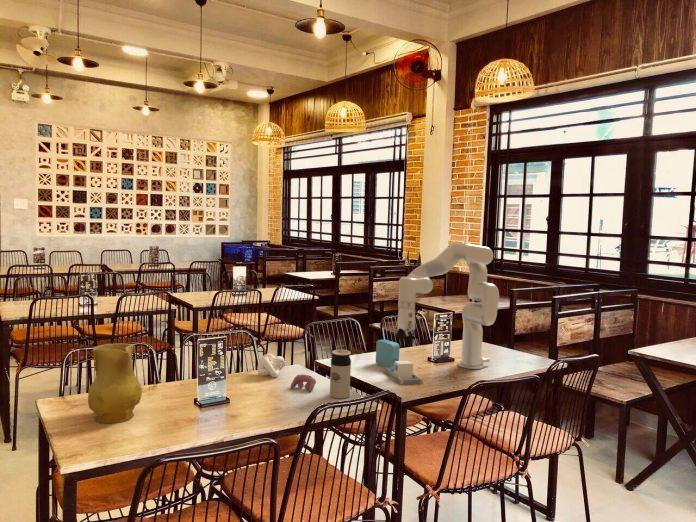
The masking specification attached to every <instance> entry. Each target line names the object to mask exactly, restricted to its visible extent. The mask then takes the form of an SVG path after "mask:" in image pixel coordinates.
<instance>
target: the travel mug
mask: <svg viewBox="0 0 696 522" xmlns="http://www.w3.org/2000/svg"><path fill="white" fill-rule="evenodd" d="M331 353H332V357H331V359H330V375H329V376H330V378H329V379H330V381H329V396H330V397H332V398H333V399H339V398H341V399H342V398H343V399H346V398H348V397H350V396H351V395H350V394H351V393H350V392H351V373H352V372H351V371H352V368H351V367H352V359H351V354H352V353H351V351H350V350H346V349H334V350H332V352H331ZM341 399H340V400H341Z"/></svg>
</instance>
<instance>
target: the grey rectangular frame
mask: <svg viewBox="0 0 696 522" xmlns="http://www.w3.org/2000/svg"><path fill="white" fill-rule="evenodd" d="M383 367H384V366H383ZM383 372H384V373H385V374H387V375H388V376H389V377H391V378H392V379H393V380H394V381H395V382H396V383H398V384H399V385H420V384H424V378H423V377H421V376H419V375H418V374H417V373H415V372H414V371H413V378H412V379H401V378H400V377H398V376H397V375H396V374H395V373H394V367H384V371H383Z"/></svg>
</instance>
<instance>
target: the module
mask: <svg viewBox="0 0 696 522" xmlns="http://www.w3.org/2000/svg"><path fill="white" fill-rule="evenodd" d="M413 372H414V362H411V361H410V360H399V361H395V365H394V372H393V373H395V374H396V375H397V376H398V377H400V378H401V379H414V378H413Z"/></svg>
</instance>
